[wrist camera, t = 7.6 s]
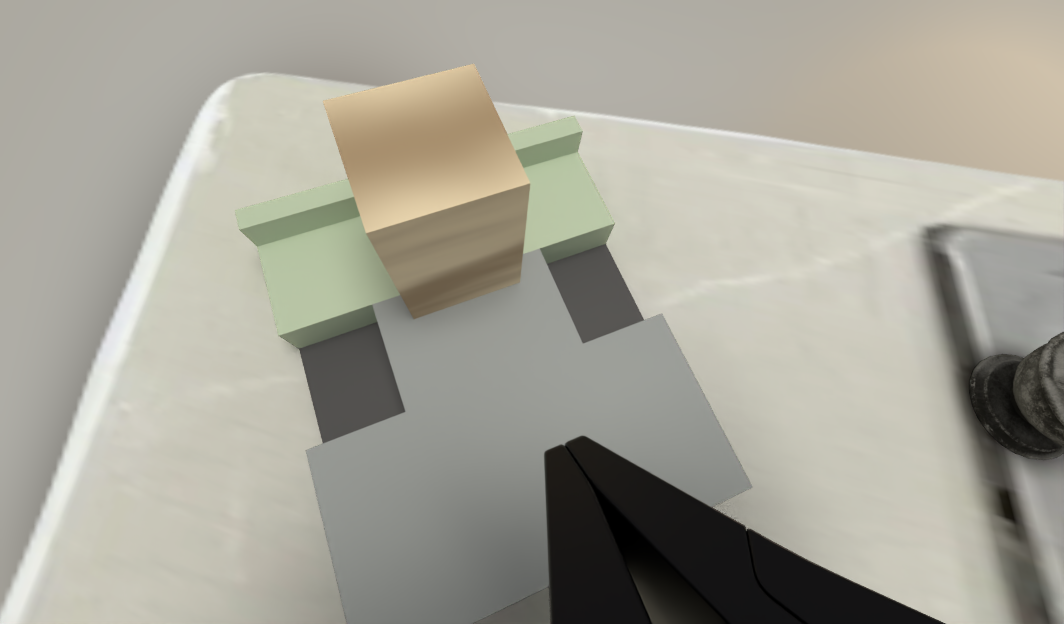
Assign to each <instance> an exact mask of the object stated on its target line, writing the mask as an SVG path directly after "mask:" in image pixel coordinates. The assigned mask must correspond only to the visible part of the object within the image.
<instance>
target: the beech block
mask: <svg viewBox="0 0 1064 624" xmlns="http://www.w3.org/2000/svg"><path fill="white" fill-rule="evenodd" d="M323 103H324V106H325V109H326V112H327V115H328V119H329V122H330V125H331V128H332V131H333V134H334V137H335V140H336V143H337V146H338V149H339V152H340V155H341V158H342V161H343V164H344V168H345V171H346V174H347V177H348V180H349V183H350V186H351V189H352V192H353V195H354V198H355V201H356V204H357V207H358V210H359V213H360V216H361V220H362V223H363V226H364V229H365V232H366V234H367V236H368V238H369V240H370V241H371V243H372V245H373V247H374V249H375V250H376V252H377V254H378V256H379V258H380V259H381V261H382V263H383V265H384V267H385V268H386V270H387V272H388V274H389V275H390V277H391V279H392V281H393V283H394V284H395V286H396V288H397V290H398V292H399V293H400V295H401V297H402V299H403V301H404V302H405V304H406V306H407V308H408V310H409V311H410V313H411V315H412V317H413V319H416V318H419V317H422V316H425V315H428V314H431V313H433V312H436V311H439V310H442V309H445V308H448V307H451V306H454V305H456V304H459V303H462V302H465V301H468V300H471V299H474V298H477V297H479V296H482V295H485V294H488V293H491V292H494V291H497V290H500V289H502V288H505V287H508V286H511V285H514V284H517V283H520V278H521V268H522V259H523V249H524V240H525V230H526V221H527V211H528V202H529V192H530V181H529V179H528V177H527V175H526V173H525V171H524V168H523V166H522V164H521V162H520V160H519V158H518V156H517V154H516V152H515V149H514V147H513V145H512V143H511V141H510V139H509V137H508V135H507V132H506V130H505V128H504V126H503V124H502V122H501V120H500V118H499V116H498V113H497V111H496V109H495V107H494V105H493V103H492V101H491V99H490V97H489V94H488V92H487V90H486V88H485V86H484V84H483V82H482V80H481V77H480V76H479V73H478V71H477V69H476V67H475V65H474V64H471V65H467V66H463V67H459V68H455V69H451V70H447V71H443V72H439V73H434V74H430V75H426V76H422V77H418V78H414V79H410V80H406V81H402V82H398V83H394V84H390V85H386V86H381V87H377V88H373V89H369V90H365V91H361V92H357V93H353V94H349V95H345V96H341V97H337V98H333V99H328V100H324V101H323Z"/></svg>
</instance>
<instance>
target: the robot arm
mask: <svg viewBox="0 0 1064 624" xmlns="http://www.w3.org/2000/svg"><path fill="white" fill-rule="evenodd" d="M544 471H545V496H546V522H547V547H548V573H549V598H550V624H945V623H943V622H941V621H939V620H937V619H934V618H932V617H930V616H928V615H926V614H923V613H921V612H919V611H917V610H915V609H912V608H910V607H908V606H906V605H903V604H901V603H899V602H897V601H895V600H892V599H890V598H888V597H886V596H884V595H881V594H879V593H877V592H875V591H873V590H870V589H868V588H866V587H864V586H862V585H859V584H857V583H855V582H853V581H851V580H849V579H846V578H844V577H842V576H840V575H838V574H836V573H834V572H832V571H830V570H828V569H825V568H823V567H821V566H819V565H817V564H815V563H813V562H811V561H809V560H807V559H805V558H803V557H801V556H799V555H797V554H796V553H794V552H792V551H790V550H788V549H786V548H784V547H782V546H781V545H779V544H777V543H775V542H773V541H771V540H769V539H768V538H766V537H764V536H762V535H761V534H759V533H757V532H755V531H754V530H752V529H747V531H746V527H745V526H744V525H743V524H741V523H739V522H737V521H736V520H734V519H732V518H730V517H728V516H727V515H725V514H723V513H721V512H720V511H718V510H716V509H714V508H712V507H711V506H709V505H707V504H705V503H704V502H702V501H700V500H698V499H696V498H695V497H693V496H691V495H689V494H688V493H686V492H684V491H682V490H681V489H679V488H677V487H675V486H673V485H672V484H670V483H668V482H666V481H665V480H663V479H661V478H659V477H657V476H656V475H654V474H652V473H650V472H649V471H647V470H645V469H643V468H642V467H640V466H638V465H636V464H634V463H633V462H631V461H629V460H627V459H626V458H624V457H622V456H620V455H618V454H617V453H615V452H613V451H611V450H610V449H608V448H606V447H604V446H602V445H601V444H599V443H597V442H595V441H594V440H592V439H590V438H588V437H586V436H583V435H582V436H579V437H576V438H574V439H572V440H569V441H567V442H566V443H565V446H564V445H563V444H560V445H558V446H555V447H553V448H551V449H548V450H546V451H545V452H544Z"/></svg>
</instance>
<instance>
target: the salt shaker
mask: <svg viewBox="0 0 1064 624" xmlns="http://www.w3.org/2000/svg"><path fill="white" fill-rule="evenodd" d="M970 397H971V401H972V405H973V408H974V410H975V412H976V414H977V416H978V418H979V420H980V422H981V423H982V424H983V426H984V427H985V429H986V430H987V431H988V433H989V434H990V435H991V436H992V437H994V438H995V439H996V440H997V441H998V442H999V443H1000V444H1001V445H1003V446H1004V447H1006V448H1007V449H1009V450H1010V451H1012V452H1014V453H1016V454H1018V455H1021V456H1024V457H1026V458H1030V459H1039V460H1046V459H1051V458H1056V457H1058V456H1060V455H1062V454H1063V453H1064V332H1062V333H1060V334H1059V335H1057V336H1055V337H1053V338H1051V339H1050V341H1049V342H1048V343H1047V344H1045V345H1043V346H1041V347H1039V348H1037V349H1036V350H1034V351H1033V352H1032V353H1030V354H1029V355H1028V356H1026V357H1025V358H1021V357H1019V356H1016V355H1007V354H1001V355H995V356H990V357H988V358H986V359H984V360H983V361H981V362H980V363H979V364H978V365H977V366H976V368H975V369H974V370H973V373H972V376H971V379H970Z"/></svg>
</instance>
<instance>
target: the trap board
mask: <svg viewBox="0 0 1064 624" xmlns="http://www.w3.org/2000/svg"><path fill="white" fill-rule="evenodd" d="M582 132H583V131H582V129H581V127H580V125H579V123H578V122H577V120H576V118H575V116H571V117H568V118H564V119H561V120H557V121H553V122H550V123H546V124H543V125H539V126H535V127H532V128H528V129H525V130H521V131H518V132H514V133H510V134H507V135H508V137H509V139H510V141H511V143H512V145H513V147H514V149H515V152H516V154H517V156H518V158H519V160H520V162H521V164H522V166H523V168H524V171H525V173H526V175H527V177H528V179H529V181H530V192H529V202H528V211H527V221H526V230H525V240H524V249H523V259H522V268H521V278H520V283H517V284H514V285H511V286H508V287H505V288H502V289H500V290H497V291H494V292H491V293H488V294H485V295H482V296H479V297H477V298H474V299H471V300H468V301H465V302H462V303H459V304H456V305H454V306H451V307H448V308H445V309H442V310H439V311H436V312H433V313H431V314H428V315H425V316H422V317H419V318H416V319H413V317H412V315H411V313H410V311H409V310H408V308H407V306H406V304H405V302H404V301H403V299H402V297H401V295H400V293H399V292H398V290H397V288H396V286H395V284H394V283H393V281H392V279H391V277H390V275H389V274H388V272H387V270H386V268H385V267H384V265H383V263H382V261H381V259H380V258H379V256H378V254H377V252H376V250H375V249H374V247H373V245H372V243H371V241H370V240H369V238H368V236H367V234H366V232H365V229H364V226H363V223H362V220H361V216H360V213H359V210H358V207H357V204H356V201H355V198H354V195H353V192H352V189H351V186H350V183H349V180H348V179H345V180H342V181H338V182H335V183H331V184H327V185H324V186H320V187H317V188H313V189H310V190H306V191H302V192H299V193H295V194H292V195H288V196H284V197H281V198H277V199H274V200H270V201H267V202H263V203H259V204H256V205H252V206H249V207H245V208H241V209H238V210H235V213H236V218H237V222H238V227H239V230H240V231H241V232H242V233H243V234H244V235H245V236H246V237H248V238H249V239H250V240H251V241H252V242H253V243H254V244H255V245H256V246H257V248H258V252H259V256H260V260H261V264H262V269H263V273H264V277H265V281H266V286H267V290H268V294H269V298H270V302H271V307H272V311H273V315H274V319H275V323H276V328H277V332H278V336H280V337H281V338H283V339H284V340H286V341H288V342H289V343H291V344H293V345H294V346H296V347H297V348H299V350H300V354H301V358H302V362H303V366H304V370H305V374H306V378H307V382H308V386H309V390H310V394H311V398H312V402H313V406H314V410H315V414H316V418H317V422H318V426H319V430H320V434H321V438H322V442H323V444H321V445H318V446H315V447H313V448H310V449H308V450H306V454H307V458H308V462H309V466H310V470H311V475H312V479H313V483H314V487H315V491H316V496H317V500H318V504H319V508H320V512H321V517H322V521H323V525H324V529H325V533H326V538H327V542H328V546H329V550H330V554H331V559H332V563H333V567H334V571H335V575H336V580H337V584H338V588H339V592H340V596H341V601H342V605H343V609H344V613H345V617H346V622H347V624H473V623H475V622H477V621H479V620H481V619H483V618H485V617H487V616H489V615H491V614H494V613H496V612H498V611H500V610H502V609H504V608H506V607H508V606H510V605H512V604H514V603H516V602H518V601H520V600H522V599H524V598H526V597H528V596H530V595H533V594H535V593H537V592H539V591H541V590H543V589H545V588H547V587H549V573H548V547H547V522H546V496H545V471H544V452H545V451H546V450H548V449H551V448H553V447H555V446H558V445H560V444H563V445H564V446H565V443H566V442H567V441H569V440H572V439H574V438H576V437H579V436H582V435H583V436H586V437H588V438H590V439H592V440H594V441H595V442H597V443H599V444H601V445H602V446H604V447H606V448H608V449H610V450H611V451H613V452H615V453H617V454H618V455H620V456H622V457H624V458H626V459H627V460H629V461H631V462H633V463H634V464H636V465H638V466H640V467H642V468H643V469H645V470H647V471H649V472H650V473H652V474H654V475H656V476H657V477H659V478H661V479H663V480H665V481H666V482H668V483H670V484H672V485H673V486H675V487H677V488H679V489H681V490H682V491H684V492H686V493H688V494H689V495H691V496H693V497H695V498H696V499H698V500H700V501H702V502H704V503H705V504H707V505H709V506H711V507H713V506H715V505H717V504H719V503H721V502H723V501H725V500H727V499H729V498H732V497H734V496H736V495H738V494H740V493H742V492H744V491H746V490H748V489H750V488H752V485H751V483H750V481H749V479H748V477H747V475H746V473H745V472H744V470H743V468H742V466H741V464H740V462H739V460H738V458H737V456H736V454H735V452H734V450H733V449H732V447H731V445H730V443H729V441H728V439H727V437H726V435H725V433H724V431H723V429H722V427H721V426H720V424H719V422H718V420H717V418H716V416H715V414H714V412H713V410H712V408H711V406H710V404H709V403H708V401H707V399H706V397H705V395H704V393H703V391H702V389H701V387H700V385H699V383H698V381H697V380H696V378H695V376H694V374H693V372H692V370H691V368H690V366H689V364H688V362H687V360H686V358H685V357H684V355H683V353H682V351H681V349H680V347H679V345H678V343H677V341H676V339H675V337H674V335H673V334H672V332H671V330H670V328H669V326H668V324H667V322H666V320H665V318H664V316H663V314H659V315H656V316H654V317H651V318H649V319H646V320H644V319H643V317H642V315H641V313H640V311H639V309H638V307H637V305H636V303H635V301H634V299H633V297H632V295H631V293H630V291H629V289H628V287H627V285H626V283H625V281H624V279H623V277H622V275H621V273H620V272H619V270H618V268H617V266H616V264H615V262H614V260H613V258H612V256H611V254H610V252H609V250H608V248H607V246H606V242H607V240H608V237H609V235H610V233H611V231H612V229H613V227H614V224H615V222H614V221H613V219H612V217H611V215H610V213H609V211H608V209H607V207H606V205H605V203H604V201H603V199H602V198H601V196H600V194H599V192H598V190H597V188H596V186H595V184H594V182H593V180H592V178H591V176H590V175H589V173H588V171H587V169H586V167H585V165H584V163H583V161H582V159H581V157H580V155H579V153H578V148H579V144H580V140H581V136H582Z"/></svg>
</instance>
